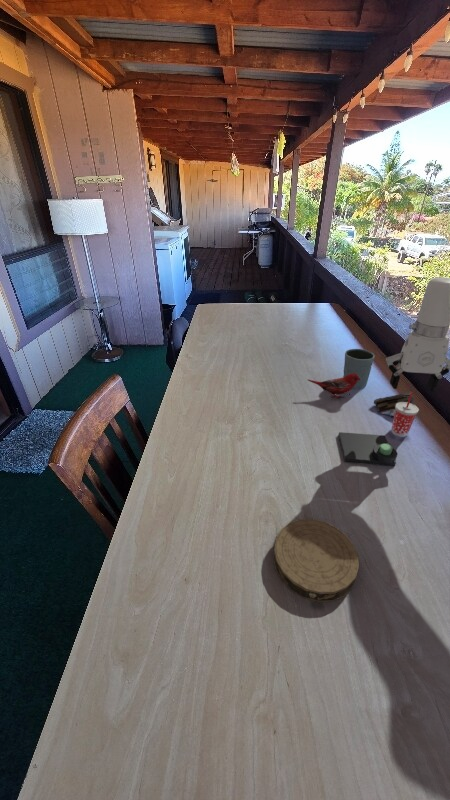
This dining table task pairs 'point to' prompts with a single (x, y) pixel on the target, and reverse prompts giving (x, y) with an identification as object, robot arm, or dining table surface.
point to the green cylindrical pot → (358, 365)
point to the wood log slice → (315, 560)
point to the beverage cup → (403, 418)
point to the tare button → (385, 449)
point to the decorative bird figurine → (338, 384)
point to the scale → (365, 449)
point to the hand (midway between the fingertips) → (411, 387)
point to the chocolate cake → (391, 403)
